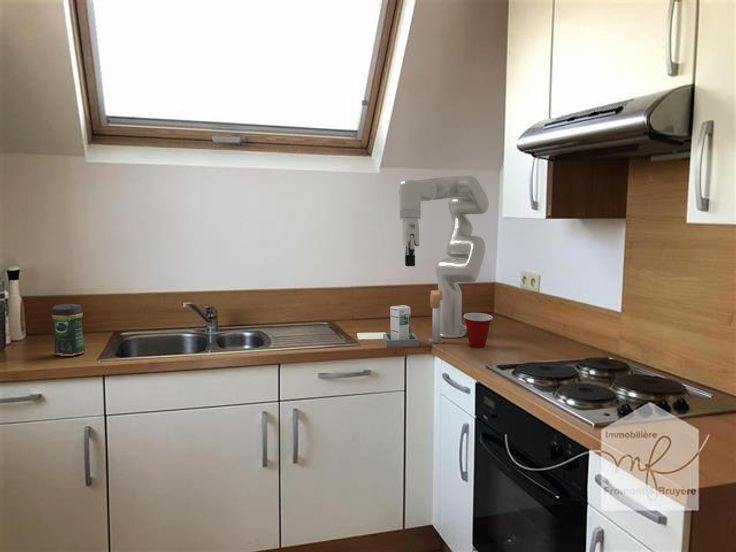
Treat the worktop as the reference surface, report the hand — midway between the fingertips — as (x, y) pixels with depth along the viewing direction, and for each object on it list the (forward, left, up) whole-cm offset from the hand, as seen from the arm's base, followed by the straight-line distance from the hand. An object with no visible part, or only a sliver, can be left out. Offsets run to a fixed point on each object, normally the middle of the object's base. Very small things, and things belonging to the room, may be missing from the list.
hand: (410, 265), depth 213 cm
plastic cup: (-26, -2, -31) cm, 41 cm away
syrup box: (+2, -11, -31) cm, 33 cm away
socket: (-3, -11, -31) cm, 33 cm away
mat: (+12, -24, -31) cm, 41 cm away
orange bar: (-10, -1, -14) cm, 17 cm away
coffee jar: (+123, -4, -31) cm, 127 cm away
